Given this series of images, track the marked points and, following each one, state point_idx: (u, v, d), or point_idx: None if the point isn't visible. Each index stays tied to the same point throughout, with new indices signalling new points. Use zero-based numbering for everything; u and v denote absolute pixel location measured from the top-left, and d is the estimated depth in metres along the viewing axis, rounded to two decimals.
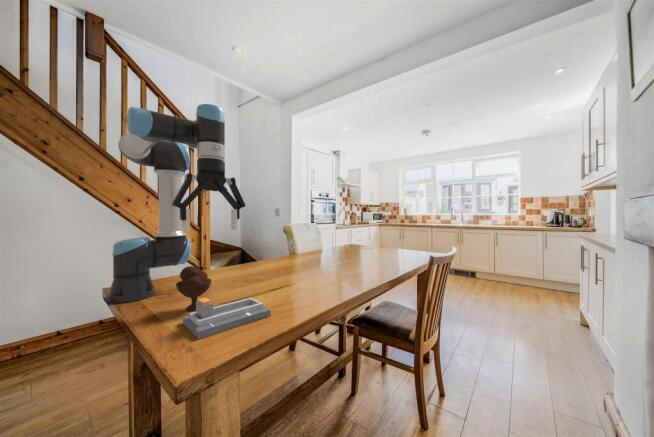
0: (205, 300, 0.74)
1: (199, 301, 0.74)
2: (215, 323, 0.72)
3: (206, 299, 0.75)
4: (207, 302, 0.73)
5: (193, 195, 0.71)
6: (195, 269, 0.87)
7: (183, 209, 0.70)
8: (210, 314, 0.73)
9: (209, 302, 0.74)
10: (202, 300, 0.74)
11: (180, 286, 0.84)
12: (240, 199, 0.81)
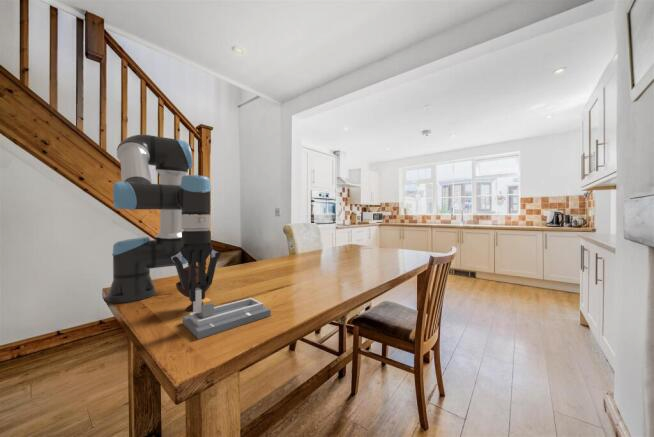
0: (206, 300, 0.74)
1: None
2: (215, 323, 0.72)
3: (207, 299, 0.75)
4: (208, 302, 0.73)
5: (192, 274, 0.71)
6: None
7: (195, 290, 0.72)
8: (211, 314, 0.73)
9: (210, 302, 0.74)
10: (203, 300, 0.74)
11: (180, 286, 0.84)
12: (210, 275, 0.75)
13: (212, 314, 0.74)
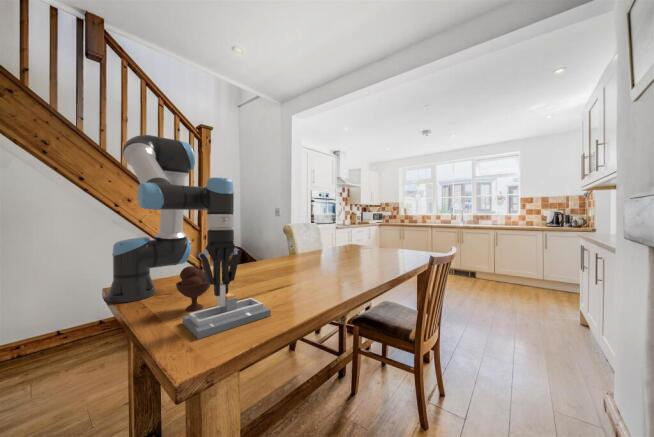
0: (229, 294, 0.79)
1: None
2: (215, 323, 0.72)
3: (230, 294, 0.80)
4: (231, 296, 0.78)
5: (217, 271, 0.76)
6: (195, 269, 0.87)
7: (219, 285, 0.77)
8: (234, 308, 0.78)
9: (233, 296, 0.79)
10: (226, 294, 0.79)
11: (180, 286, 0.84)
12: (233, 272, 0.79)
13: (235, 308, 0.79)
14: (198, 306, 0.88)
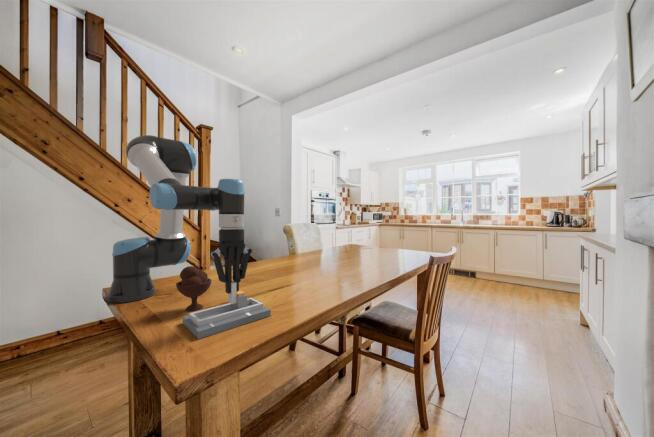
0: (240, 292, 0.81)
1: None
2: (215, 323, 0.72)
3: (240, 291, 0.82)
4: (242, 294, 0.81)
5: (229, 269, 0.78)
6: (195, 269, 0.87)
7: (230, 283, 0.79)
8: (245, 305, 0.81)
9: (244, 294, 0.81)
10: (237, 292, 0.81)
11: (180, 286, 0.84)
12: (244, 270, 0.82)
13: (245, 305, 0.81)
14: (198, 306, 0.88)
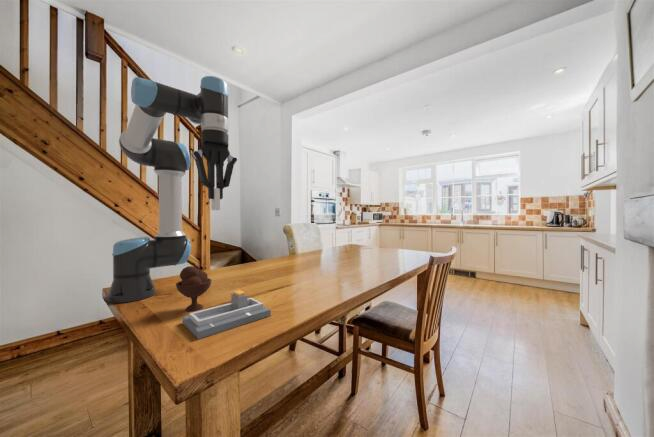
0: (240, 292, 0.81)
1: (234, 293, 0.82)
2: (215, 323, 0.72)
3: (240, 291, 0.82)
4: (242, 294, 0.81)
5: (211, 172, 0.75)
6: (195, 269, 0.87)
7: (213, 188, 0.76)
8: (245, 305, 0.81)
9: (244, 294, 0.81)
10: (237, 292, 0.81)
11: (180, 286, 0.84)
12: (228, 178, 0.78)
13: (246, 305, 0.81)
14: (198, 306, 0.88)
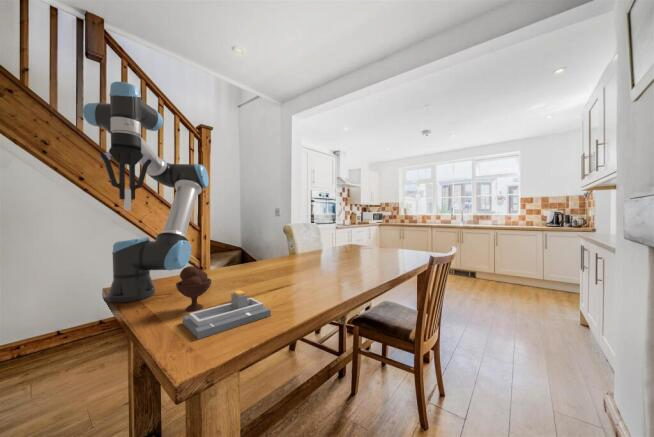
0: (240, 292, 0.81)
1: (234, 293, 0.82)
2: (215, 323, 0.72)
3: (240, 291, 0.82)
4: (242, 294, 0.81)
5: (121, 174, 0.78)
6: (195, 269, 0.87)
7: (124, 189, 0.79)
8: (245, 305, 0.81)
9: (244, 294, 0.81)
10: (237, 292, 0.81)
11: (180, 286, 0.84)
12: (141, 179, 0.81)
13: (246, 305, 0.81)
14: (198, 306, 0.88)
